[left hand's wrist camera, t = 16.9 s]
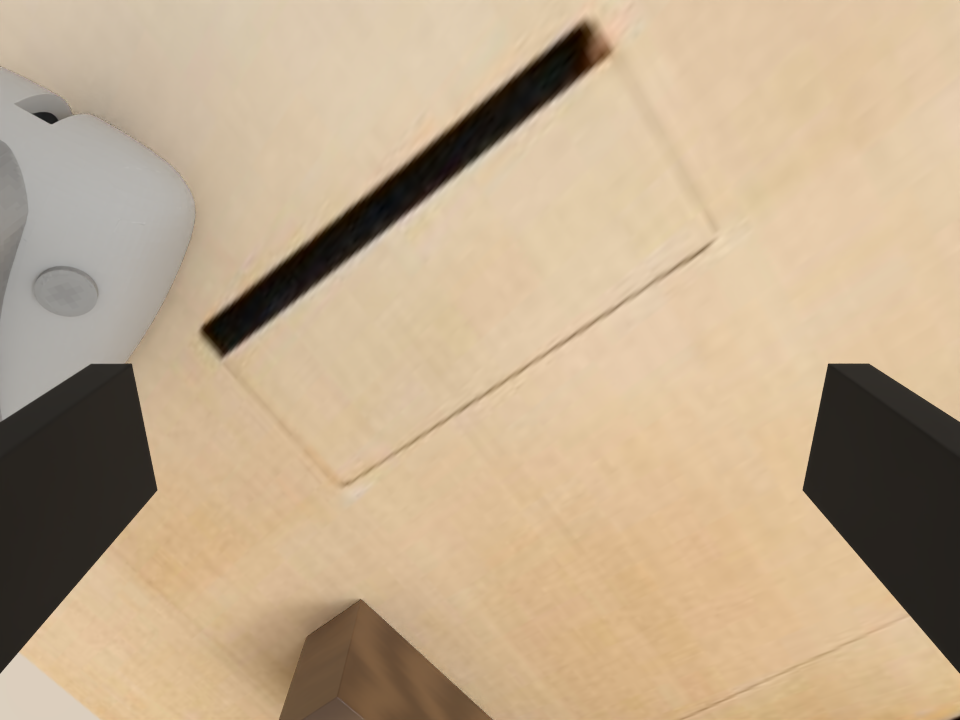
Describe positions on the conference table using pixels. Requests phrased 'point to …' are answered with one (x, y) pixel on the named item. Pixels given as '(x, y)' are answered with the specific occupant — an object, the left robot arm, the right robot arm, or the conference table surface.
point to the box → (370, 676)
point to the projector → (78, 240)
